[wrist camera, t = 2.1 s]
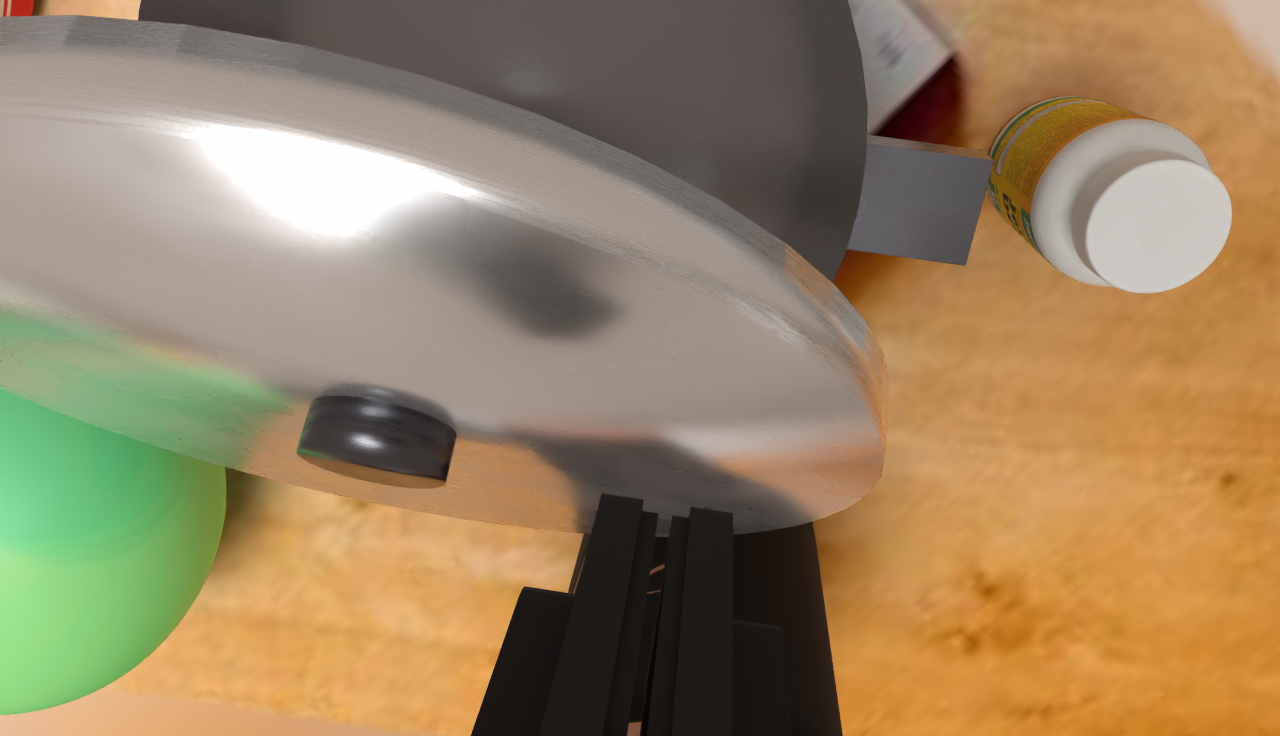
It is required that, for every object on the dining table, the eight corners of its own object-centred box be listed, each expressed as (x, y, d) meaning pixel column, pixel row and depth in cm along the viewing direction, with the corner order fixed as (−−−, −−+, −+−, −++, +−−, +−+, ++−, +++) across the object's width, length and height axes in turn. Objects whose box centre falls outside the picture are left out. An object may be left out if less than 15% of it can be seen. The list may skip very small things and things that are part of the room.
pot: (980, -149, 31) (1113, -214, 20) (856, 378, 39) (902, 537, 28) (214, -240, 32) (-56, -349, 21) (249, 291, 40) (67, 410, 29)
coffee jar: (723, 389, 40) (713, 681, 24) (859, 555, 43) (936, 919, 26) (544, 509, 43) (427, 837, 27) (681, 655, 46) (650, 1033, 30)
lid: (1110, 147, 9) (1119, 356, 9) (791, 523, 28) (784, 602, 27) (-663, -88, 10) (-812, 83, 10) (169, 429, 29) (143, 502, 28)
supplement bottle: (1160, 147, 34) (1305, 208, 25) (1056, 259, 36) (1158, 350, 28) (1052, 63, 33) (1163, 96, 25) (952, 181, 35) (1022, 251, 27)
